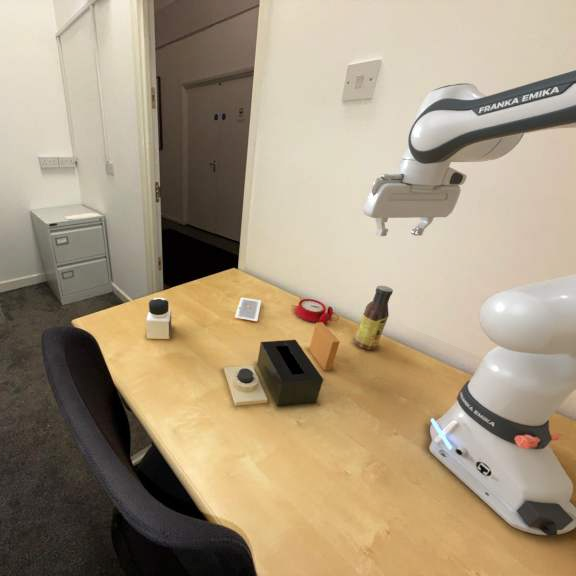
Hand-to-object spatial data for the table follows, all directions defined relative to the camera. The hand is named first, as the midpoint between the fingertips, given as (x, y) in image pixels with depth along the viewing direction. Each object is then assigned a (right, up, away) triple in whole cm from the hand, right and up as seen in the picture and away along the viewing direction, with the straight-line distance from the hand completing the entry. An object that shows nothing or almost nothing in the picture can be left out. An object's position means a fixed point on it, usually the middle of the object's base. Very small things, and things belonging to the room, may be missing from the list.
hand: (398, 235), depth 72 cm
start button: (-36, -36, +4) cm, 51 cm away
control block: (-36, -38, +6) cm, 53 cm away
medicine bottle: (-60, -28, +25) cm, 71 cm away
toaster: (-25, -38, +7) cm, 46 cm away
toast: (-12, -34, +15) cm, 39 cm away
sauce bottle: (+5, -31, +22) cm, 38 cm away
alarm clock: (-5, -23, +36) cm, 43 cm away
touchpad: (-29, -21, +38) cm, 53 cm away
